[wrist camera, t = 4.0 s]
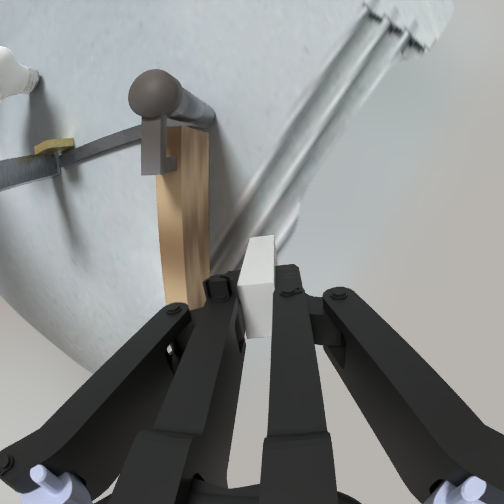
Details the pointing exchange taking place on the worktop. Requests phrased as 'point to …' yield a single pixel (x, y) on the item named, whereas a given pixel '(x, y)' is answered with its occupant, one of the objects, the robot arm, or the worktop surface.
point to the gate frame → (92, 146)
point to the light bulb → (15, 75)
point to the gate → (175, 186)
